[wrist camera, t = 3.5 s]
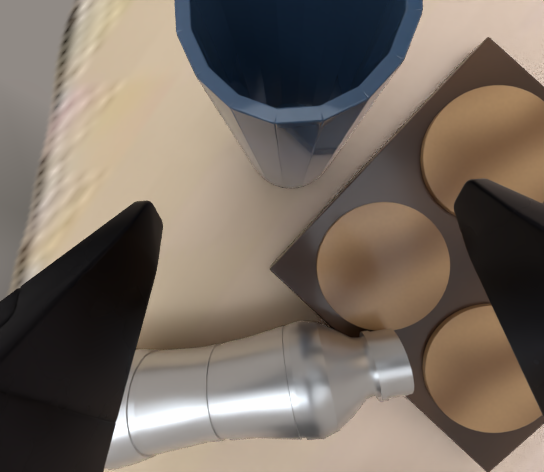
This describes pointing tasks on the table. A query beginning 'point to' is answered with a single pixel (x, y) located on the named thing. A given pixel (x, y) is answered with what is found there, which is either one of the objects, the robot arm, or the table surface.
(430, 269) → the coaster board
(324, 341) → the silver metal bottle
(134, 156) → the table surface
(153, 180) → the table surface
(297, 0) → the tumbler
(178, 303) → the table surface
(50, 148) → the table surface
